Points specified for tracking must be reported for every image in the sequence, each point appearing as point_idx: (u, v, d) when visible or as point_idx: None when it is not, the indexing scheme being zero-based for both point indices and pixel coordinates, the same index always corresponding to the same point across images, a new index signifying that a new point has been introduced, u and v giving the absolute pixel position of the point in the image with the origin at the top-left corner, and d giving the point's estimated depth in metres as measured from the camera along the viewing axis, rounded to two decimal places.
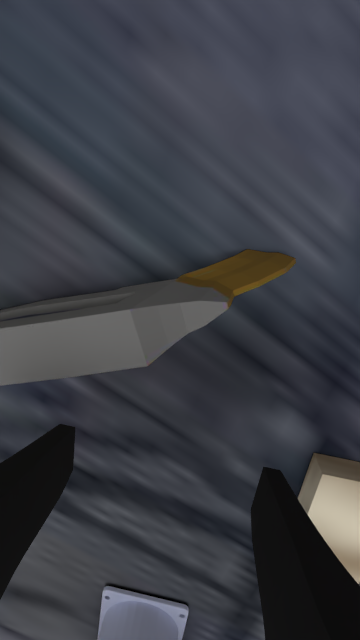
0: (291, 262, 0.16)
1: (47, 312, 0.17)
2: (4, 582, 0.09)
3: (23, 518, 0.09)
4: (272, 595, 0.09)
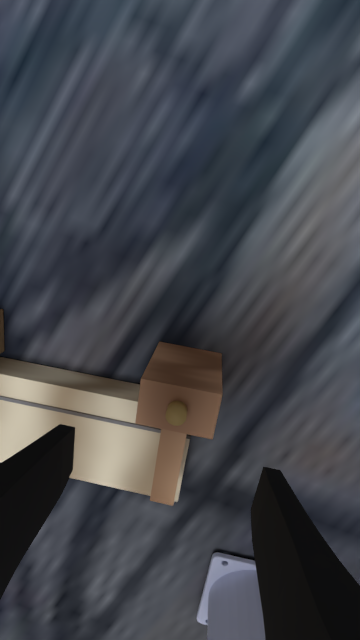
0: None
1: None
2: (3, 582, 0.09)
3: (23, 518, 0.09)
4: (273, 595, 0.09)
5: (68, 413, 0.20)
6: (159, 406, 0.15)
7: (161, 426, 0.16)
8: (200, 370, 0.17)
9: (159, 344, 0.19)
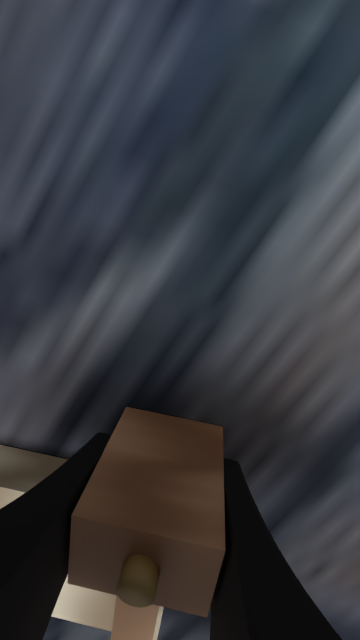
0: None
1: None
2: (56, 595, 0.09)
3: None
4: (217, 581, 0.09)
5: None
6: (108, 561, 0.08)
7: (113, 590, 0.09)
8: (186, 476, 0.10)
9: (124, 413, 0.12)
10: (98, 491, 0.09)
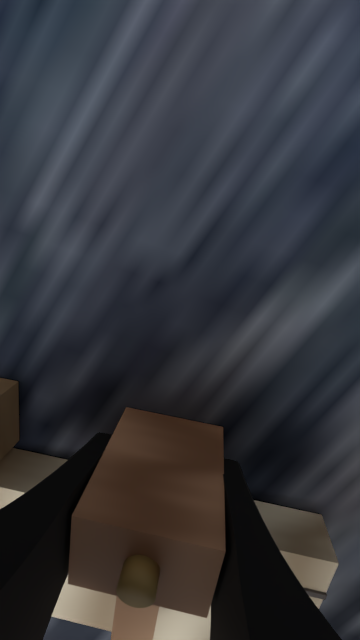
0: None
1: None
2: (56, 595, 0.09)
3: None
4: (217, 582, 0.09)
5: None
6: (108, 561, 0.08)
7: (113, 591, 0.09)
8: (186, 476, 0.10)
9: (125, 414, 0.12)
10: (98, 492, 0.09)
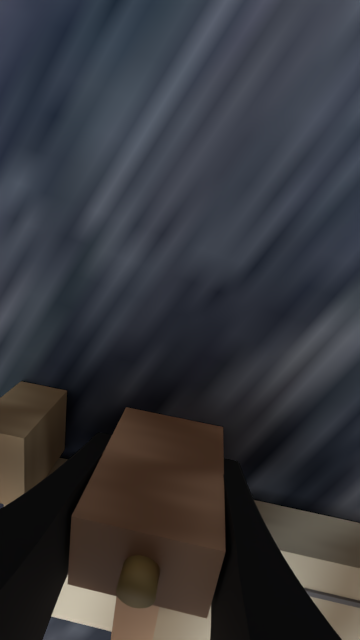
0: None
1: None
2: (56, 595, 0.09)
3: None
4: (218, 582, 0.09)
5: None
6: (108, 562, 0.08)
7: (113, 591, 0.09)
8: (186, 477, 0.10)
9: (125, 414, 0.12)
10: (98, 492, 0.09)
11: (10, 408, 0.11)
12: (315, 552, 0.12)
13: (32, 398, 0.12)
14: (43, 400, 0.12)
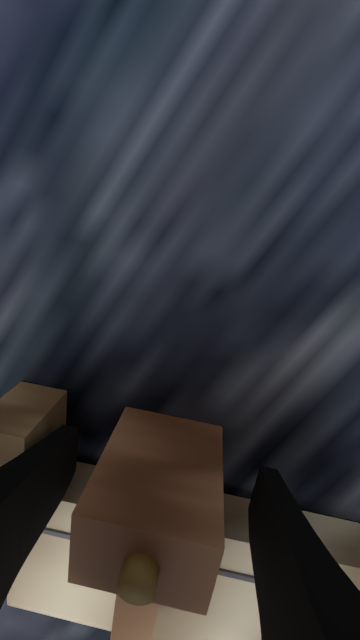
0: None
1: None
2: (7, 583, 0.09)
3: (27, 519, 0.09)
4: (268, 594, 0.09)
5: None
6: (108, 559, 0.08)
7: (113, 589, 0.09)
8: (186, 475, 0.10)
9: (124, 413, 0.12)
10: (98, 490, 0.09)
11: (10, 408, 0.11)
12: None
13: (33, 398, 0.12)
14: (43, 400, 0.12)
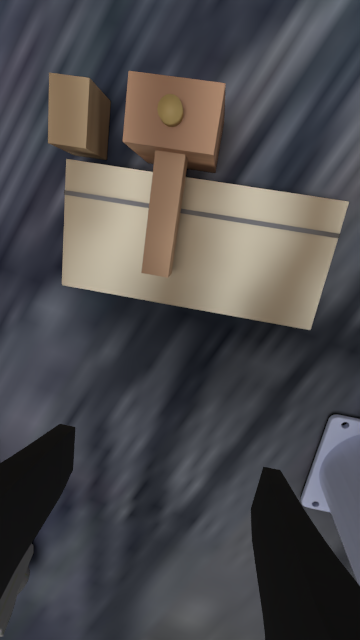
0: None
1: None
2: (3, 582, 0.09)
3: (23, 518, 0.09)
4: (272, 595, 0.09)
5: (190, 214, 0.17)
6: (150, 111, 0.13)
7: (153, 141, 0.13)
8: None
9: None
10: None
11: None
12: (290, 193, 0.16)
13: None
14: None
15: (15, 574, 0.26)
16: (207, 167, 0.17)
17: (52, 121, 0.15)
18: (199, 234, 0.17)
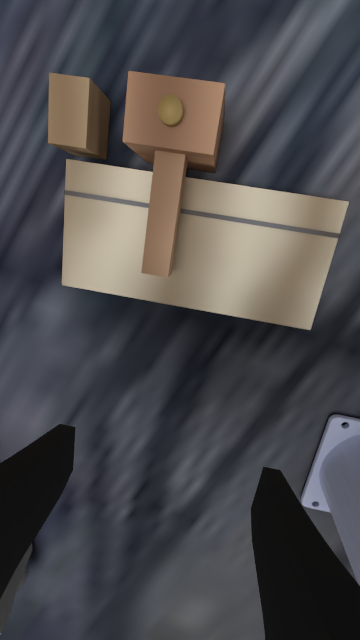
0: None
1: None
2: (3, 582, 0.09)
3: (23, 518, 0.09)
4: (272, 595, 0.09)
5: (190, 214, 0.17)
6: (150, 111, 0.13)
7: (152, 142, 0.13)
8: None
9: None
10: None
11: None
12: (290, 193, 0.16)
13: None
14: None
15: (14, 572, 0.26)
16: (207, 167, 0.17)
17: (52, 121, 0.15)
18: (199, 234, 0.17)
